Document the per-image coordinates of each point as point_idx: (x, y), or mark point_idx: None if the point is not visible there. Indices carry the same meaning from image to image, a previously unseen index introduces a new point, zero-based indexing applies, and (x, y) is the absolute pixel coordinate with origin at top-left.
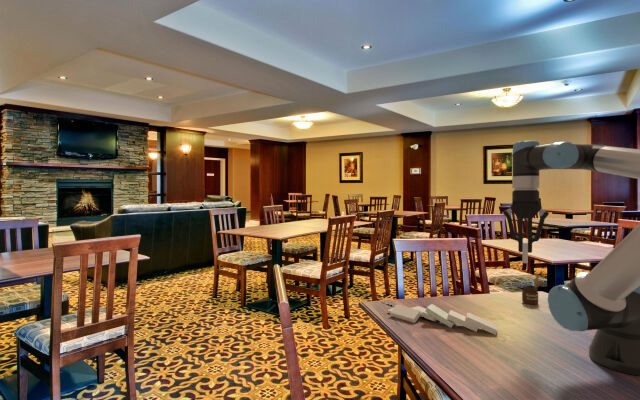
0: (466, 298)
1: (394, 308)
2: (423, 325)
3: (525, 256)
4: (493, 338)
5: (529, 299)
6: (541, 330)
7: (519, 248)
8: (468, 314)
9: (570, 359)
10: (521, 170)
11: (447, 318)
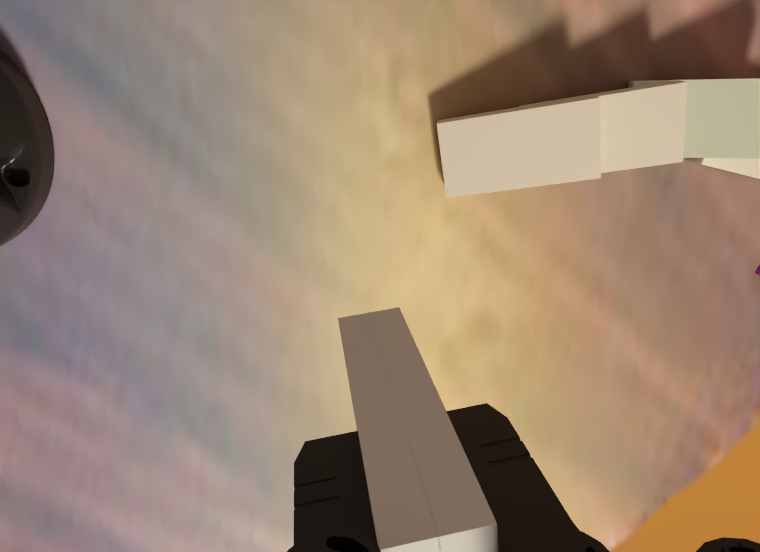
0: (610, 502)
1: None
2: (748, 27)
3: (377, 357)
4: (439, 69)
5: None
6: (280, 314)
7: (504, 444)
8: (592, 145)
9: (103, 21)
10: None
11: (674, 80)
